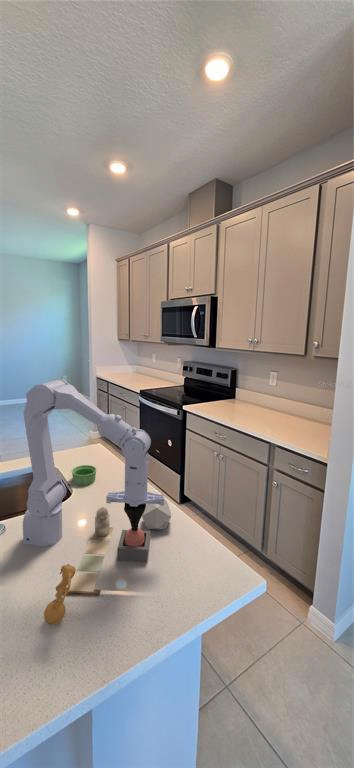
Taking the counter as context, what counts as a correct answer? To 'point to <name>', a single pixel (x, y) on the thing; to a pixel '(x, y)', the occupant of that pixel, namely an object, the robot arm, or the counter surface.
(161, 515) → the die
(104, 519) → the pawn
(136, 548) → the frame
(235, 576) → the counter surface
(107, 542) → the board
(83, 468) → the ramekin
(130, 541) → the popper dome
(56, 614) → the figurine
